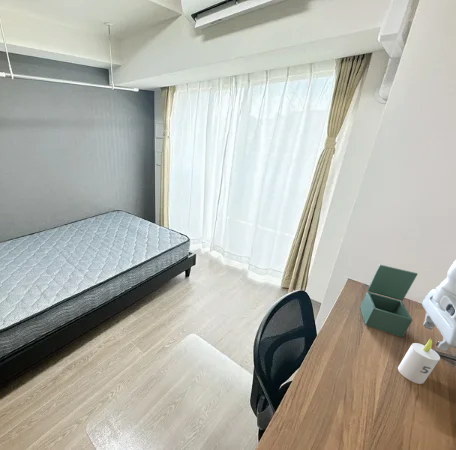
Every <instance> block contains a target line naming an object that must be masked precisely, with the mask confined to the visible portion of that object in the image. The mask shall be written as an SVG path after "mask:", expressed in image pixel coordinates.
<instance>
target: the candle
mask: <svg viewBox="0 0 456 450" xmlns="http://www.w3.org/2000/svg"><path fill="white" fill-rule="evenodd" d="M432 346H433V339H432V338H429V339H428V341H427V342H426V344H423V343H418V342H412V344H411V345H410V347H409V349H408V350H407V351H406V353H405V355H404V357H403V358H402V360H401V361H400V363H399V365H398V366H397V370H398V372H399V373H400V374H401V375H402V376H403V377H404V378H405V379H407V380H408V381H410V382H412V383H415V384H419V385H422V384H424V383H425V382H426V380H427V379H428V377H429V376H430V375H431V373H432V371H433V370H434V369H435V367H436V366H437V364H438V363H439V361H440V360H441V356H440V354H439V353H438V352H437V351H435V350H434V349H432Z"/></svg>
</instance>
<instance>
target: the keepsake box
mask: <svg viewBox="0 0 456 450" xmlns="http://www.w3.org/2000/svg"><path fill="white" fill-rule="evenodd" d="M359 310H360V313H361V316H362V318H363V319H362V320H363V322H364V325H365V326H366V327H369V328H372V329H375V330H379V331H382V332H385V333H387V334H390V335H393V336H397V337H399V338H403V337H405V334H406V332H407V331H408V329H409V328H410V325H411V324H412V322H413V318H412V316H411V315H410V313H409V311H408V309H407V307H406V306H405V304H404V302H403V301H401V300H398V299H394V298H390V297H387V296H383V295H379V294H376V293H372V292H369V291H367V292H366V293H365V295H364V297H363V300H362V302H361V304H360V306H359Z"/></svg>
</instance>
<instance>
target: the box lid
mask: <svg viewBox="0 0 456 450" xmlns="http://www.w3.org/2000/svg"><path fill="white" fill-rule="evenodd" d="M417 276H418V272H414V271H409V270H406V269H401V268H397V267H392V266H388V265H384V264H378V267H377V269H376V271H375V273H374V275H373V277H372V279H371V282H370V284H369V285H368V288H367V292H370V293H374V294H377V295H381V296H384V297H388V298H392V299H395V300H399V301H402V302H403V301H404V299H405V297H406V295H408V292H409V290H410V289H411V287H412V285H413V284H414V281H415V280H416V278H417Z"/></svg>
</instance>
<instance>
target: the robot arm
mask: <svg viewBox="0 0 456 450" xmlns="http://www.w3.org/2000/svg"><path fill="white" fill-rule="evenodd" d="M446 273H447V275H446V278H444V280H442V281H441V282H440V284H439V285H437V286H436V287H435V288H433V289H431V290H430V291H429V292H428V293H427V294H426V296H425V297H424V298H423V300H422V304H421V306H422V308H423V309H424V311H425V318H424V322H423V326H424V328H425V329H428V330H433V329H434V328H435V327H436V329H437V330H438V332H439V333H440V334H441V336H442V340H437V342H436V343H435V345H436V347H437V349H438V350H439V351H443V352H447V351H448V350H449V348H455V349H456V259H454V261H453V262H452V264H451V265H450V267H449V268H448V270H447V272H446Z"/></svg>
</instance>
